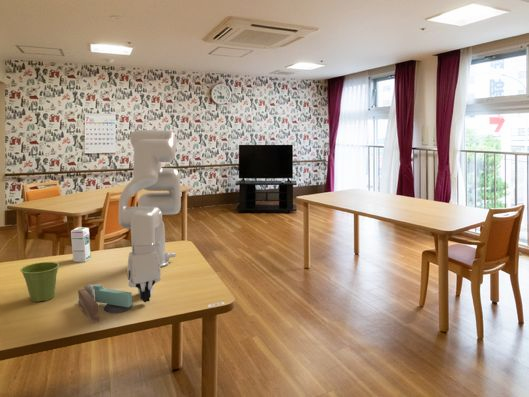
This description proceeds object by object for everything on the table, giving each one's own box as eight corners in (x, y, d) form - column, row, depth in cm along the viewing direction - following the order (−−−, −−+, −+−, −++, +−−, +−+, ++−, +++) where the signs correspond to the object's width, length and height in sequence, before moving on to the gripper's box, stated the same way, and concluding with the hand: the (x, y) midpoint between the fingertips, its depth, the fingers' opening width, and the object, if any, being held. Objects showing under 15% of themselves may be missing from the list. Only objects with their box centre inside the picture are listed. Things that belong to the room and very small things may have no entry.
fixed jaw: (92, 299, 141) (91, 283, 140) (109, 319, 127) (108, 300, 126) (77, 303, 138) (76, 286, 137) (92, 323, 124) (91, 304, 123)
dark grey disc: (126, 299, 142) (126, 298, 142) (136, 308, 135) (136, 307, 135) (100, 305, 136) (99, 304, 136) (108, 315, 129) (108, 314, 129)
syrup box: (85, 262, 181) (83, 230, 178) (72, 261, 181) (70, 230, 179) (91, 258, 187) (89, 227, 184) (78, 257, 187) (76, 227, 184)
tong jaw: (97, 299, 139) (96, 283, 138) (132, 304, 135) (131, 289, 134) (93, 301, 137) (92, 286, 136) (128, 307, 133) (127, 291, 132)
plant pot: (66, 290, 149) (64, 261, 147) (53, 304, 137) (51, 272, 135) (32, 291, 148) (29, 261, 146) (16, 305, 136) (13, 273, 134)
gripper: (160, 242, 143) (161, 292, 146) (117, 249, 134) (119, 302, 137) (169, 247, 137) (170, 298, 140) (125, 254, 128) (127, 310, 131)
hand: (145, 300), depth 138 cm, fingers closed
